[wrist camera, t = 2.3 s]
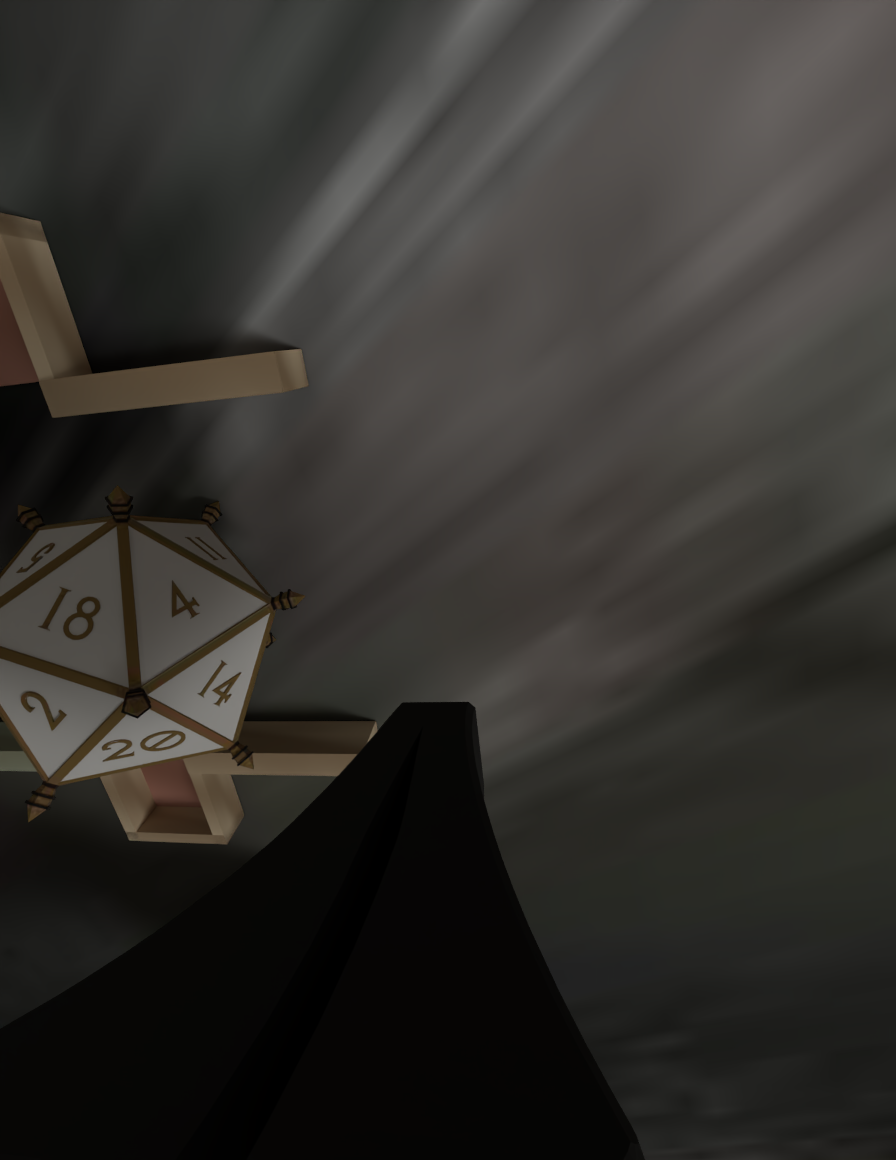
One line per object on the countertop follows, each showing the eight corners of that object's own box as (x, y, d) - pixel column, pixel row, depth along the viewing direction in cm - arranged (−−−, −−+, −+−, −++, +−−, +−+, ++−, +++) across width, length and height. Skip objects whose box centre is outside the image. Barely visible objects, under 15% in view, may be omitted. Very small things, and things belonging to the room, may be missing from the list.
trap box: (395, 819, 23) (377, 885, 20) (-49, 806, 27) (-115, 860, 24) (267, 179, 14) (204, 144, 11) (-366, 295, 18) (-526, 289, 15)
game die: (291, 516, 22) (387, 567, 13) (233, 716, 23) (289, 886, 14) (13, 437, 17) (-110, 437, 9) (-49, 690, 18) (-220, 919, 10)
